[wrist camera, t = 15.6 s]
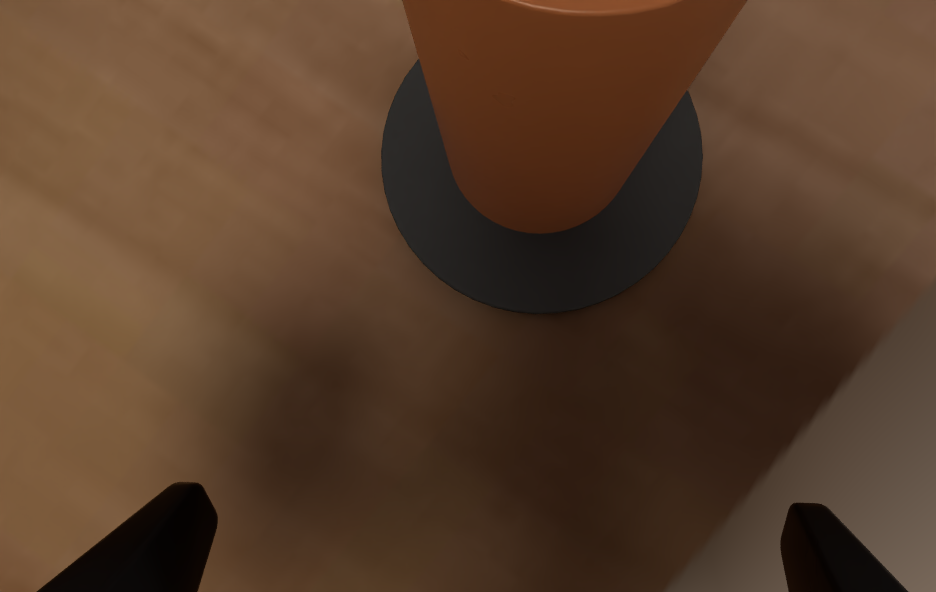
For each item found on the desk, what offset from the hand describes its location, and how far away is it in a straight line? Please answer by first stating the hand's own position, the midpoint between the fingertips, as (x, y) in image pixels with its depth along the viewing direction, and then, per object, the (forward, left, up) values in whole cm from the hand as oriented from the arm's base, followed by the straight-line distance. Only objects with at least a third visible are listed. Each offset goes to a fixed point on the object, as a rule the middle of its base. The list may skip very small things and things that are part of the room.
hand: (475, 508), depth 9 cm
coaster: (+3, -8, -8) cm, 11 cm away
